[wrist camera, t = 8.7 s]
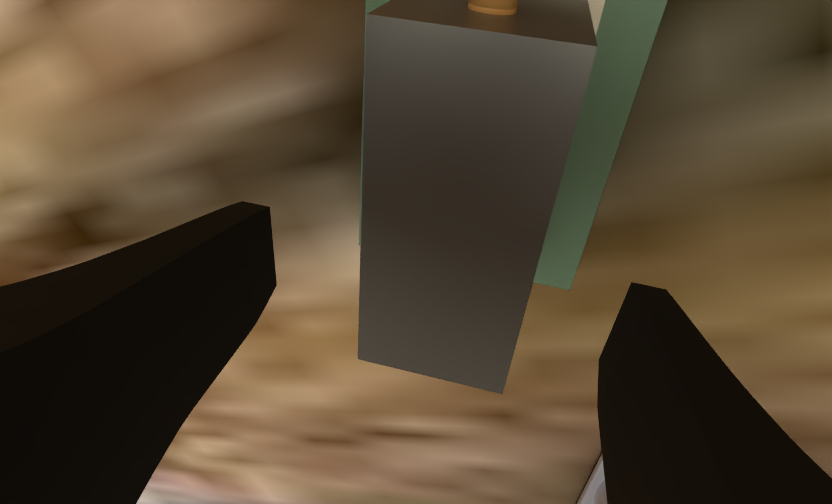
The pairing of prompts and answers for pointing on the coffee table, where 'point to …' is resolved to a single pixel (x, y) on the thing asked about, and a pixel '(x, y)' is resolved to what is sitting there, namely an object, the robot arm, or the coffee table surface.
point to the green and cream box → (589, 128)
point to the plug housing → (462, 174)
